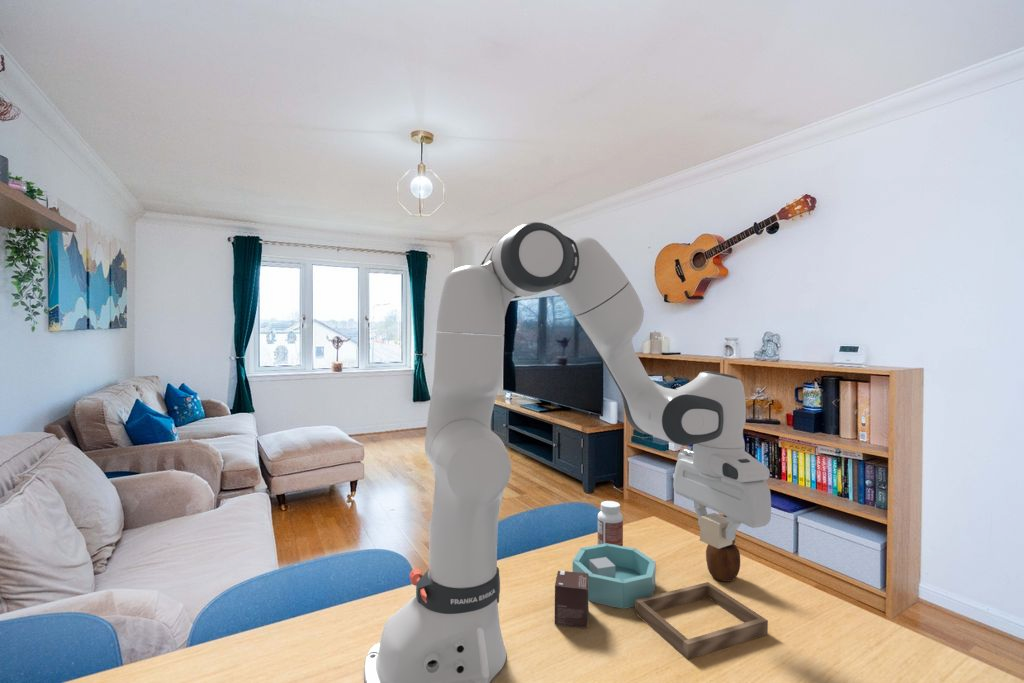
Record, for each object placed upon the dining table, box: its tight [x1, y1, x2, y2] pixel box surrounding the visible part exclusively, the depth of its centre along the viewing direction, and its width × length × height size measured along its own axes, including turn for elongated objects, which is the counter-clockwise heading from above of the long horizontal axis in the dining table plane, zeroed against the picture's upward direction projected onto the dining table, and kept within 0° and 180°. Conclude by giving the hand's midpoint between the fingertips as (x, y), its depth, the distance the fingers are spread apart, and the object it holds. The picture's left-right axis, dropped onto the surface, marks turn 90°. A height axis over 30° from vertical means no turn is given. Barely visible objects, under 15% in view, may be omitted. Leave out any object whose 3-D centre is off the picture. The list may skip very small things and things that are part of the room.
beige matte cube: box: [699, 512, 732, 549], centre depth 89 cm, size 4×4×4 cm
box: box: [554, 570, 589, 629], centre depth 89 cm, size 6×6×7 cm
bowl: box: [572, 543, 657, 610], centre depth 101 cm, size 16×16×5 cm
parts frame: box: [634, 581, 769, 661], centre depth 88 cm, size 18×14×2 cm
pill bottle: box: [597, 500, 624, 546], centre depth 118 cm, size 6×6×11 cm
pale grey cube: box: [589, 557, 615, 578], centre depth 100 cm, size 4×4×4 cm
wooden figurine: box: [705, 514, 741, 582], centre depth 104 cm, size 7×6×15 cm
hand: (716, 532), depth 89 cm, fingers closed on beige matte cube, 4 cm apart
